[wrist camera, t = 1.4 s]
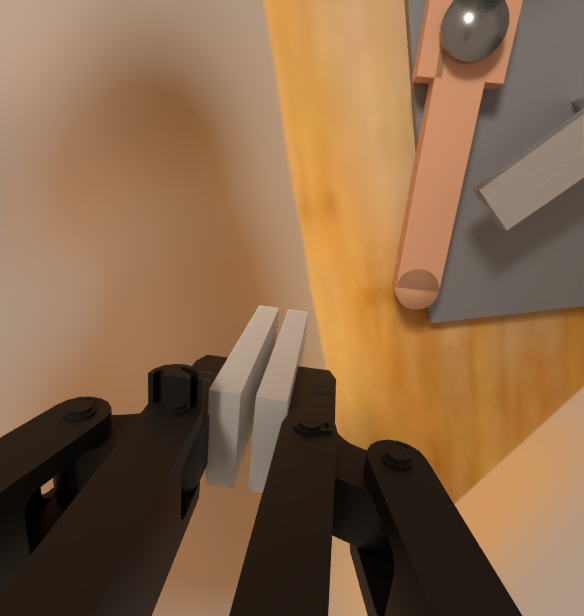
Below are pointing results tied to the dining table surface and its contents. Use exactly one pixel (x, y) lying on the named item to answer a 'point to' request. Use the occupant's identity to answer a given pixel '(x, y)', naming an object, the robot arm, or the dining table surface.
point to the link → (442, 152)
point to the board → (500, 151)
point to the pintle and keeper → (540, 156)
